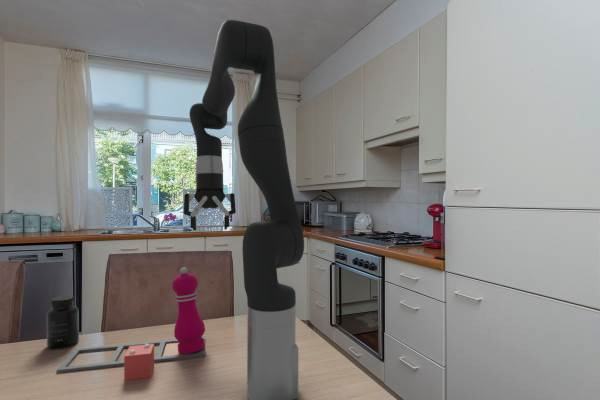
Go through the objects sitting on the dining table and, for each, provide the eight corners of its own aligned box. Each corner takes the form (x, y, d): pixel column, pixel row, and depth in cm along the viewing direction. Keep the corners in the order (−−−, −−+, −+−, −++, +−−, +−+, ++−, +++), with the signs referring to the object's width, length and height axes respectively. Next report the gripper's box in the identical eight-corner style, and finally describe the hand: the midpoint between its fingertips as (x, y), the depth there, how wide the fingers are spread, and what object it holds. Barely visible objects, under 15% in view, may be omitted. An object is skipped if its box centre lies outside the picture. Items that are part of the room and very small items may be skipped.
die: (154, 366, 77) (154, 341, 77) (150, 377, 72) (150, 350, 72) (129, 368, 76) (129, 343, 76) (124, 380, 71) (124, 353, 71)
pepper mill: (198, 354, 80) (189, 268, 81) (170, 355, 82) (161, 271, 83) (211, 342, 88) (203, 263, 88) (185, 343, 89) (178, 266, 90)
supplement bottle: (52, 340, 91) (52, 295, 91) (82, 337, 93) (82, 293, 93) (41, 351, 85) (41, 302, 85) (74, 347, 87) (74, 300, 87)
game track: (204, 338, 92) (204, 336, 92) (204, 356, 82) (204, 354, 82) (75, 351, 85) (75, 348, 85) (56, 372, 74) (56, 370, 74)
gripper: (182, 171, 94) (182, 231, 93) (235, 171, 97) (236, 229, 96) (184, 174, 101) (185, 230, 100) (234, 174, 104) (235, 228, 104)
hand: (210, 229), depth 98 cm, fingers open, 8 cm apart
